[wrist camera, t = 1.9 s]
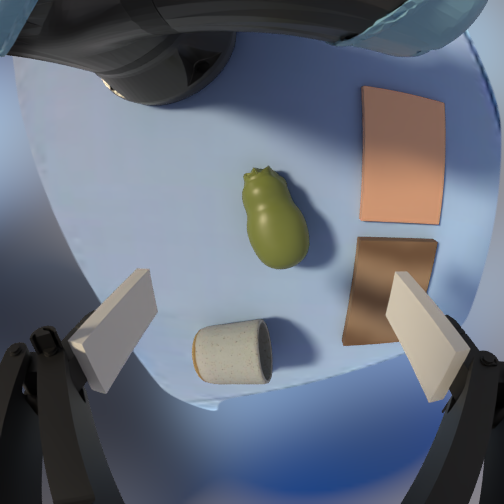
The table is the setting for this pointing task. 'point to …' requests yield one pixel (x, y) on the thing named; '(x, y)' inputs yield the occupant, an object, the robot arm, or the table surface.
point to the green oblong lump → (274, 220)
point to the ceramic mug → (233, 353)
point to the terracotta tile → (402, 157)
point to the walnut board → (382, 284)
